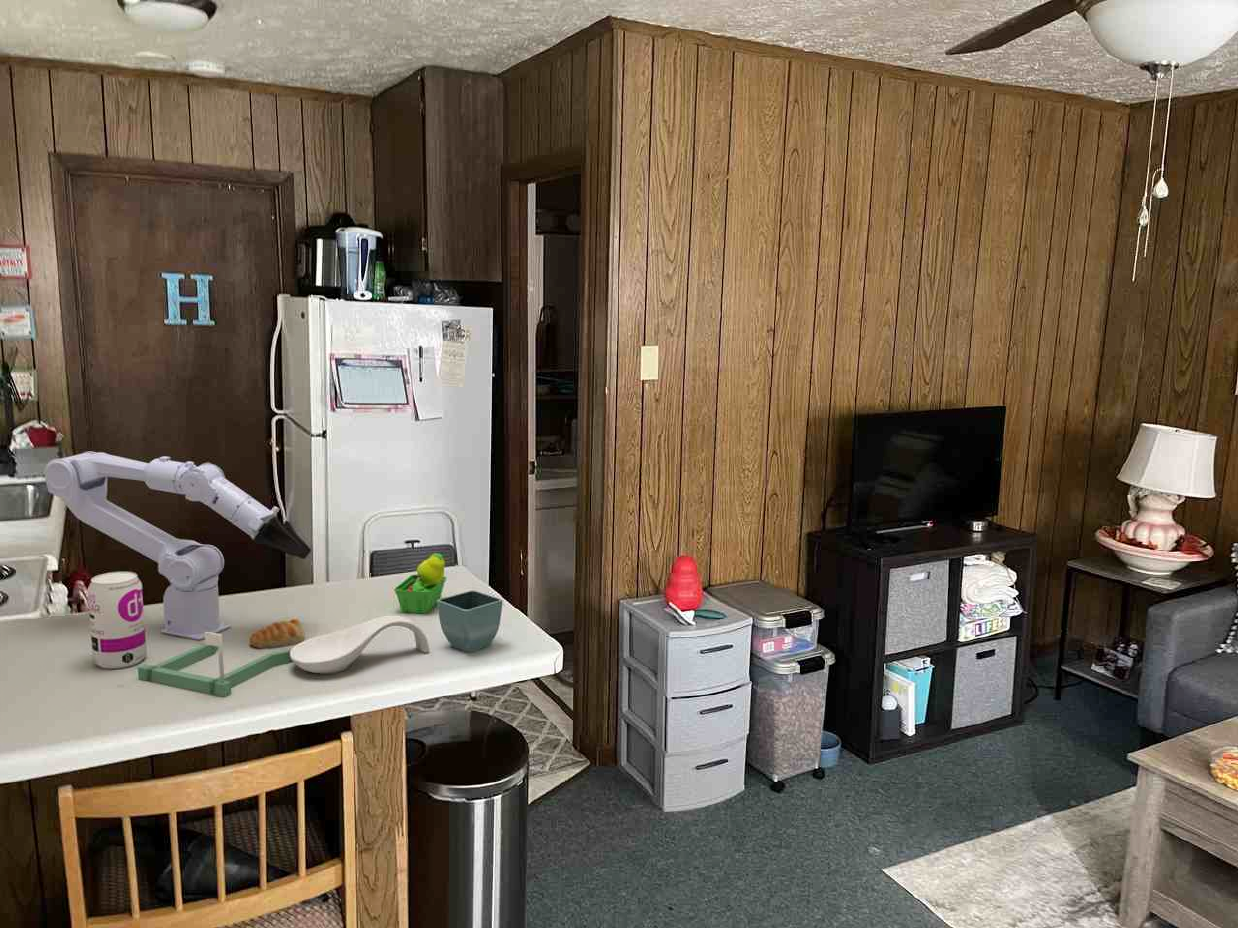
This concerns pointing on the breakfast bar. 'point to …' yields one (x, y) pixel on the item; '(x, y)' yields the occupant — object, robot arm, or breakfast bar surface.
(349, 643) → the spoon rest
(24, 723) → the breakfast bar surface
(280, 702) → the breakfast bar surface
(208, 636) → the green bars
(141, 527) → the robot arm
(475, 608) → the flower pot
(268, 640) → the pastry
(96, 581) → the supplement can
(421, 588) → the fruit basket
